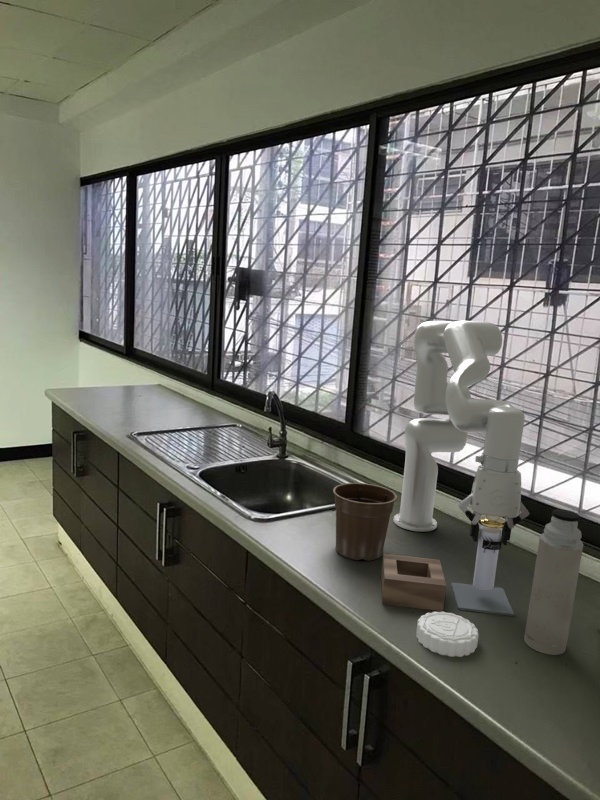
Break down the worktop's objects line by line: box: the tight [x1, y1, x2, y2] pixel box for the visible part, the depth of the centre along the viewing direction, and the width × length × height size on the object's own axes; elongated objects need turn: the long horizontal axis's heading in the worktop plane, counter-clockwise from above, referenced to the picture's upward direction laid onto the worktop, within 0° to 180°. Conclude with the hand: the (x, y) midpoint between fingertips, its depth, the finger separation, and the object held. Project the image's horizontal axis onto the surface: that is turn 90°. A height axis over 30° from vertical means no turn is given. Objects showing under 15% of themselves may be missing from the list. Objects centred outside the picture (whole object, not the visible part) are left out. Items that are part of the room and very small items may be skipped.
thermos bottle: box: [523, 508, 584, 656], centre depth 129 cm, size 8×8×28 cm
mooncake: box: [415, 610, 479, 658], centre depth 130 cm, size 12×12×4 cm
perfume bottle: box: [472, 515, 506, 590], centre depth 145 cm, size 6×6×20 cm
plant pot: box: [332, 482, 398, 562], centre depth 167 cm, size 16×16×16 cm
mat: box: [450, 582, 515, 617], centre depth 148 cm, size 12×12×1 cm
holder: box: [380, 552, 447, 612], centre depth 148 cm, size 13×13×6 cm
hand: (489, 540), depth 145 cm, fingers closed on perfume bottle, 5 cm apart
